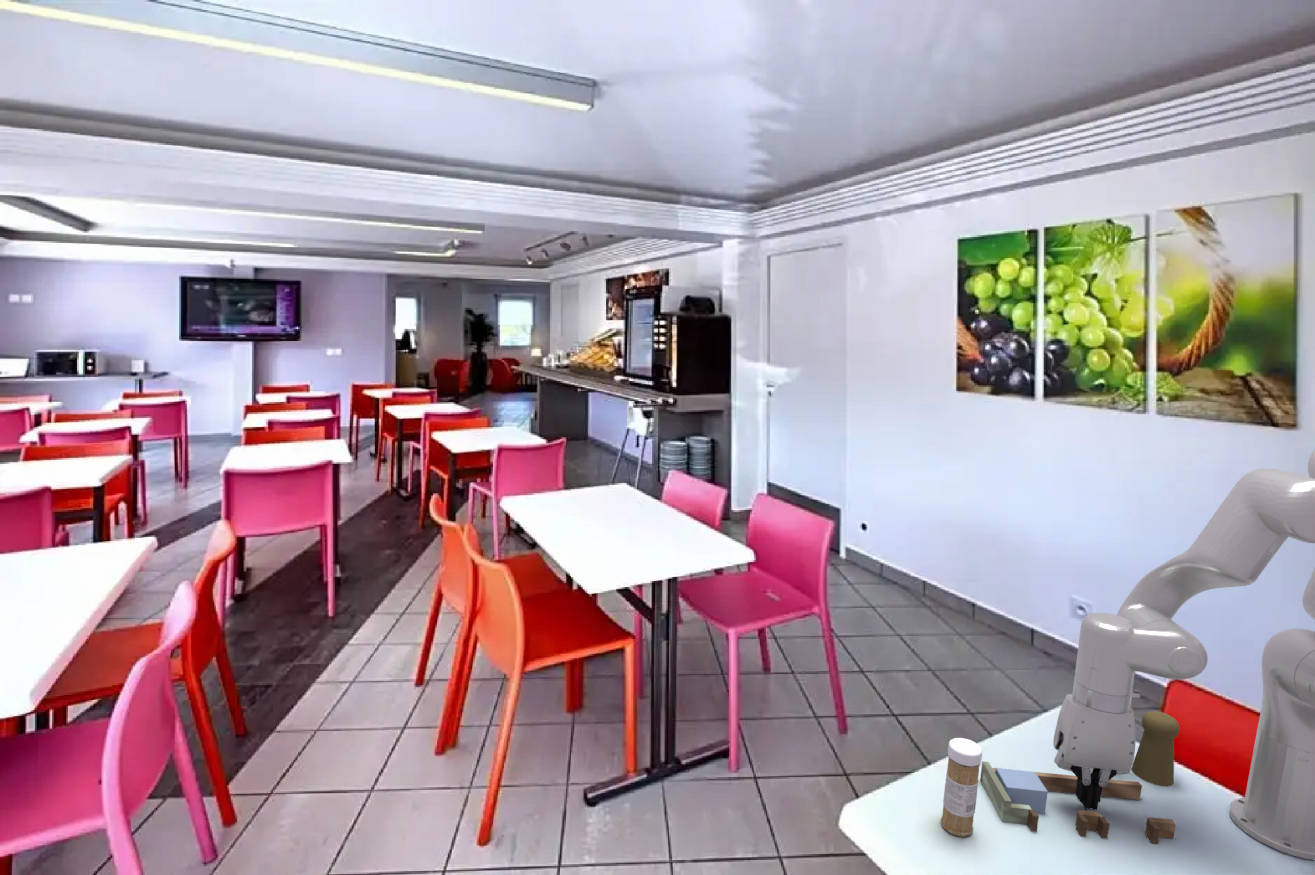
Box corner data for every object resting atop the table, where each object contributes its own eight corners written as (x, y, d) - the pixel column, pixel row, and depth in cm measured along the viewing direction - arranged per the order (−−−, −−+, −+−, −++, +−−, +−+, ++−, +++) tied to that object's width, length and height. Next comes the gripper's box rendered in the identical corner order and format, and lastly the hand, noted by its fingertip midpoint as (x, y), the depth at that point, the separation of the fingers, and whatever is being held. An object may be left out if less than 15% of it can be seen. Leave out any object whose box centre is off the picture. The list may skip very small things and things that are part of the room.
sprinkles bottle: (959, 815, 109) (968, 735, 107) (979, 836, 105) (989, 752, 103) (933, 819, 108) (942, 738, 106) (953, 840, 104) (962, 756, 102)
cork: (1181, 789, 118) (1191, 727, 116) (1141, 783, 119) (1150, 722, 117) (1163, 767, 124) (1172, 708, 122) (1125, 762, 125) (1133, 703, 123)
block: (1031, 794, 115) (1034, 772, 114) (1044, 815, 110) (1047, 791, 110) (993, 790, 116) (996, 768, 115) (1004, 810, 111) (1007, 787, 110)
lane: (1136, 795, 115) (1139, 776, 115) (1179, 846, 104) (1183, 825, 104) (980, 780, 118) (982, 761, 117) (1006, 828, 107) (1008, 807, 106)
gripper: (1139, 686, 111) (1124, 793, 114) (1039, 679, 113) (1027, 784, 116) (1168, 712, 104) (1151, 825, 107) (1061, 703, 106) (1047, 815, 108)
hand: (1086, 803), depth 111 cm, fingers closed
